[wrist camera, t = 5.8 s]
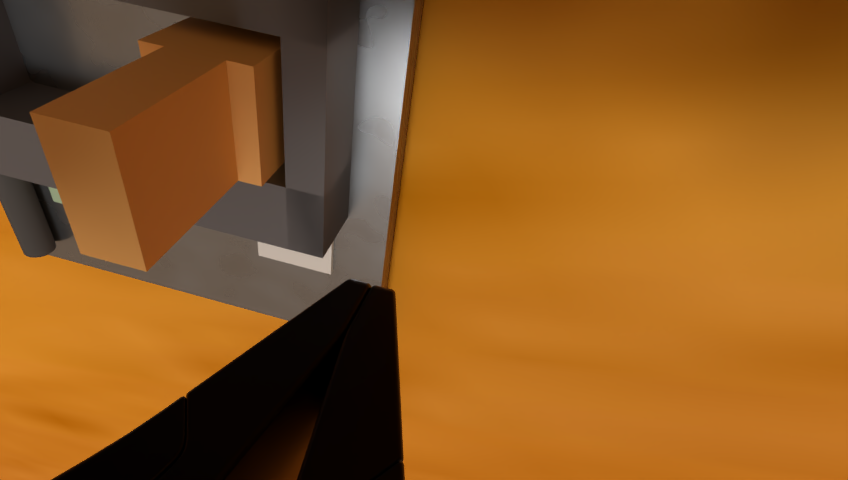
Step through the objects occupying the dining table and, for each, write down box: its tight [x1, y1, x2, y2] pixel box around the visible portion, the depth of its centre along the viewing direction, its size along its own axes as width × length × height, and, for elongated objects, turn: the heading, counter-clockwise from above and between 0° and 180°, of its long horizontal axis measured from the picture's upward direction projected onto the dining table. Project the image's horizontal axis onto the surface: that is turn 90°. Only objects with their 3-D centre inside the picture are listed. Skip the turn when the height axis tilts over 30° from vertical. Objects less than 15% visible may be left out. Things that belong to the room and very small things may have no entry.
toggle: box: [30, 17, 285, 272], centre depth 13 cm, size 3×3×7 cm
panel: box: [3, 0, 424, 321], centre depth 17 cm, size 16×22×1 cm
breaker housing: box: [0, 0, 360, 274], centre depth 16 cm, size 13×12×2 cm
